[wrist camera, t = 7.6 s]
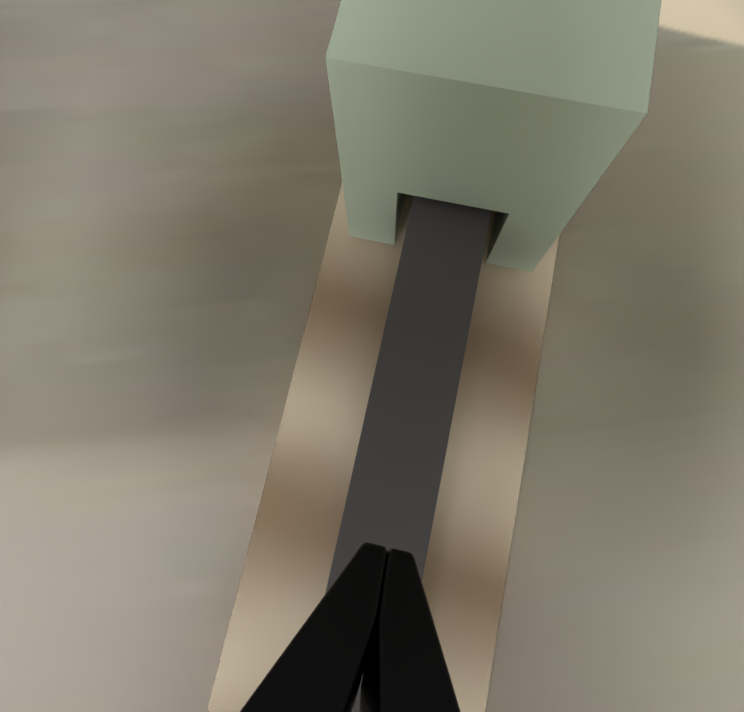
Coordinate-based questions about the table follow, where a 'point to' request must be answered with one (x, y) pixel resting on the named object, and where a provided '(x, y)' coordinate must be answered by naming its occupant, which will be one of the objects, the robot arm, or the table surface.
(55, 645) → the table surface
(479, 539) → the track board
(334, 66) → the sleeve
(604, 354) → the table surface
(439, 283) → the rail
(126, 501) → the table surface
